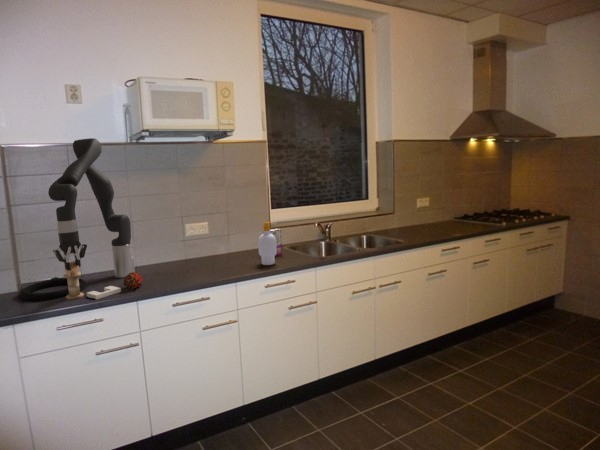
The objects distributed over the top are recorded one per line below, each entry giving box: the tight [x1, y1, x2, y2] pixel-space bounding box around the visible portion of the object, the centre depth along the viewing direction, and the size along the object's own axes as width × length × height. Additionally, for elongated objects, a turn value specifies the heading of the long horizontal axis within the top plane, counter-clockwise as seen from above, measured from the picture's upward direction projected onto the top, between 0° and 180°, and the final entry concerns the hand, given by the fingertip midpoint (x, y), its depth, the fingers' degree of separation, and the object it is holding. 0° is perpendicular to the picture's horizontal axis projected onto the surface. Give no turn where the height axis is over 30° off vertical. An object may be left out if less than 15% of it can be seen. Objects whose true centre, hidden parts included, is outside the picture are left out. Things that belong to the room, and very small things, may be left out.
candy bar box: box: [262, 228, 283, 257], centre depth 252 cm, size 11×5×16 cm, turn 132°
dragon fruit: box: [123, 271, 144, 290], centre depth 196 cm, size 8×8×12 cm
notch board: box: [86, 285, 122, 300], centre depth 187 cm, size 12×8×2 cm, turn 147°
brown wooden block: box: [64, 260, 80, 277], centre depth 177 cm, size 3×4×5 cm
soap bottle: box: [257, 221, 277, 266], centre depth 231 cm, size 10×10×24 cm
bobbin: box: [63, 271, 85, 301], centre depth 184 cm, size 7×7×11 cm
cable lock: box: [18, 276, 87, 302], centre depth 195 cm, size 28×4×30 cm
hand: (73, 269), depth 176 cm, fingers closed on brown wooden block, 3 cm apart
